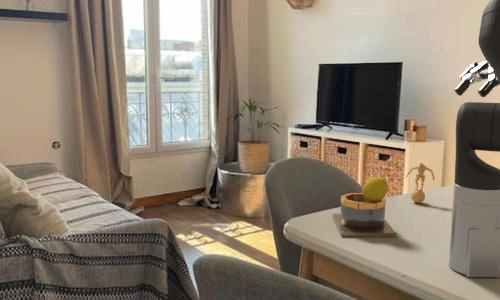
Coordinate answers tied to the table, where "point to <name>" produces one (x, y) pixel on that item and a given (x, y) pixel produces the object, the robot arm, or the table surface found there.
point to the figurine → (419, 195)
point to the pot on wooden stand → (362, 217)
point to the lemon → (375, 189)
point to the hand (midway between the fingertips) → (468, 94)
